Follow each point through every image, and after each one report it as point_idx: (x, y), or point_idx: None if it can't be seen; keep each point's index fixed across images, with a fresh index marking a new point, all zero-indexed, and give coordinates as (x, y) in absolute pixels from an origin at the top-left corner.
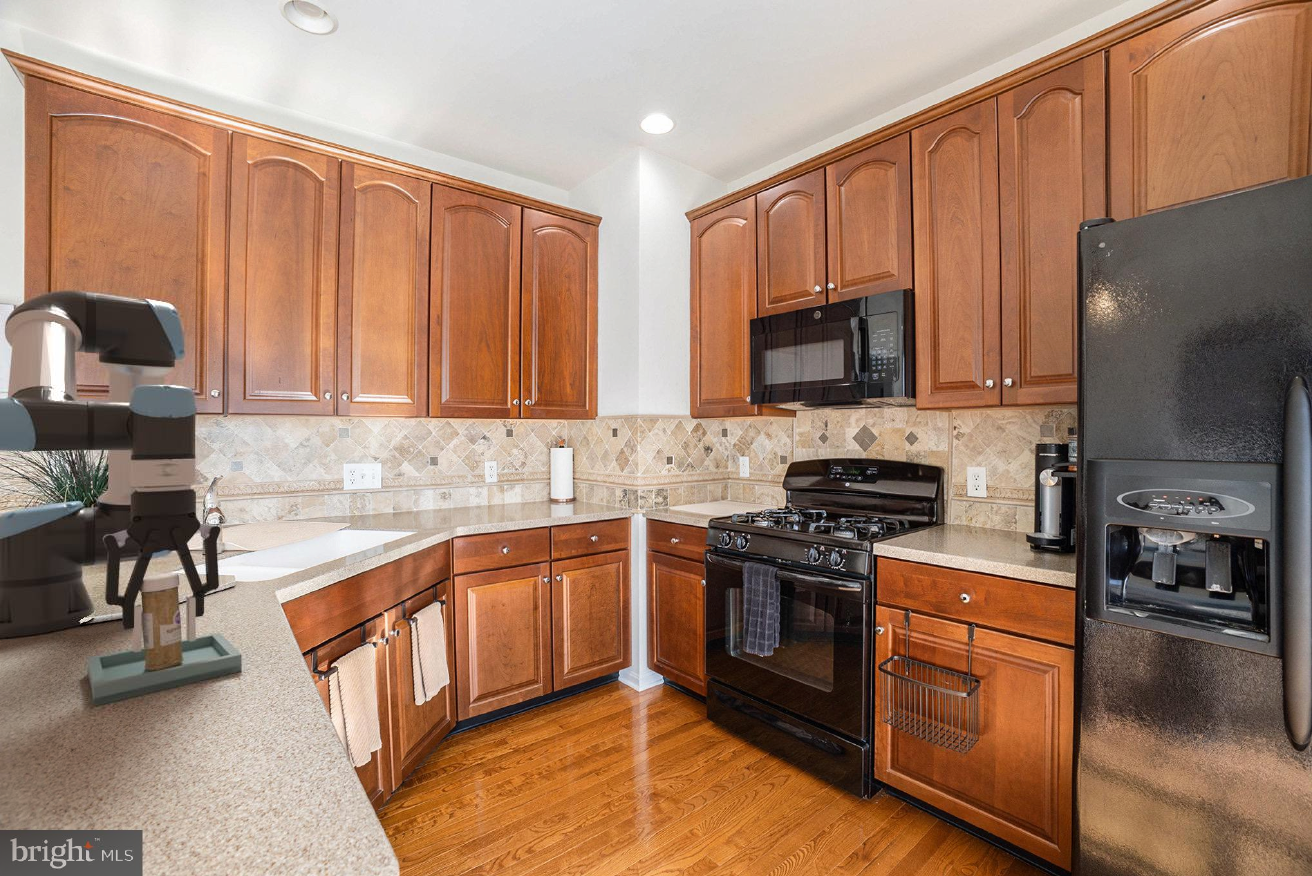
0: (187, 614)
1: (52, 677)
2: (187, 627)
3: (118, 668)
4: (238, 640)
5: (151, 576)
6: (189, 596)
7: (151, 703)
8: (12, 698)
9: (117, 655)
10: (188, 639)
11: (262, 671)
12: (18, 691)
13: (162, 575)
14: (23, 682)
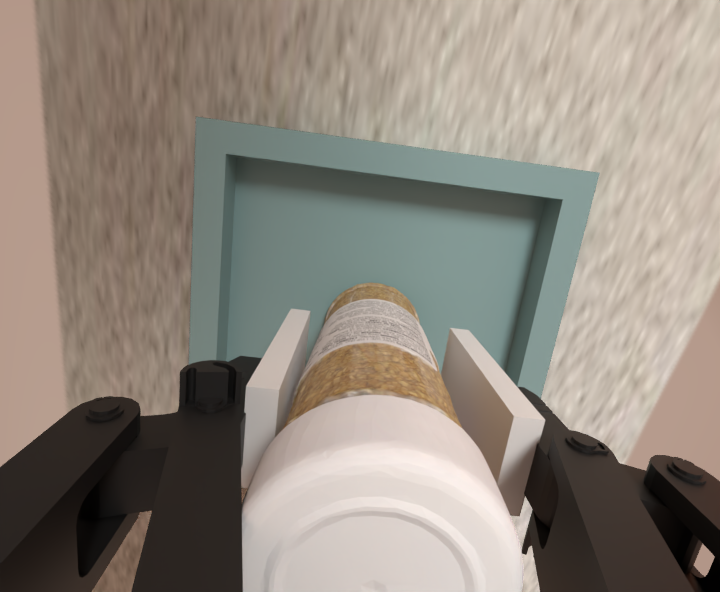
0: (472, 399)
1: (135, 44)
2: (456, 370)
3: (277, 224)
4: (644, 136)
5: (327, 529)
6: (514, 456)
7: None
8: (51, 192)
9: (278, 160)
10: (442, 375)
11: (523, 511)
12: (59, 127)
13: (403, 585)
14: (64, 20)
